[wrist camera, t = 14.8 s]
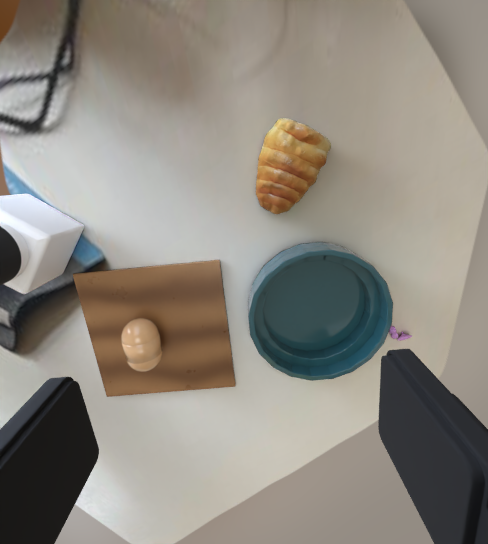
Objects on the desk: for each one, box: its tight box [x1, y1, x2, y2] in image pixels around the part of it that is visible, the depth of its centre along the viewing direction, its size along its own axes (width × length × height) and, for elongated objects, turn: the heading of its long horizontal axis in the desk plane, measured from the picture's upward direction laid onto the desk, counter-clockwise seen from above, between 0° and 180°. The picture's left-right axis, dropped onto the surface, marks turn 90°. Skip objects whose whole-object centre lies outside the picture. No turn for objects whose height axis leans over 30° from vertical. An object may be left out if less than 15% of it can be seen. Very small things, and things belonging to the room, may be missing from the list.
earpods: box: [389, 326, 412, 340], centre depth 40 cm, size 3×2×2 cm
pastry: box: [256, 118, 331, 214], centre depth 33 cm, size 9×7×4 cm
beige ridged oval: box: [121, 318, 163, 372], centre depth 38 cm, size 7×4×4 cm
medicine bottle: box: [0, 194, 84, 294], centre depth 31 cm, size 7×7×12 cm
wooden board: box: [73, 260, 235, 397], centre depth 40 cm, size 18×18×1 cm
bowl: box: [248, 242, 393, 380], centre depth 37 cm, size 16×16×4 cm
